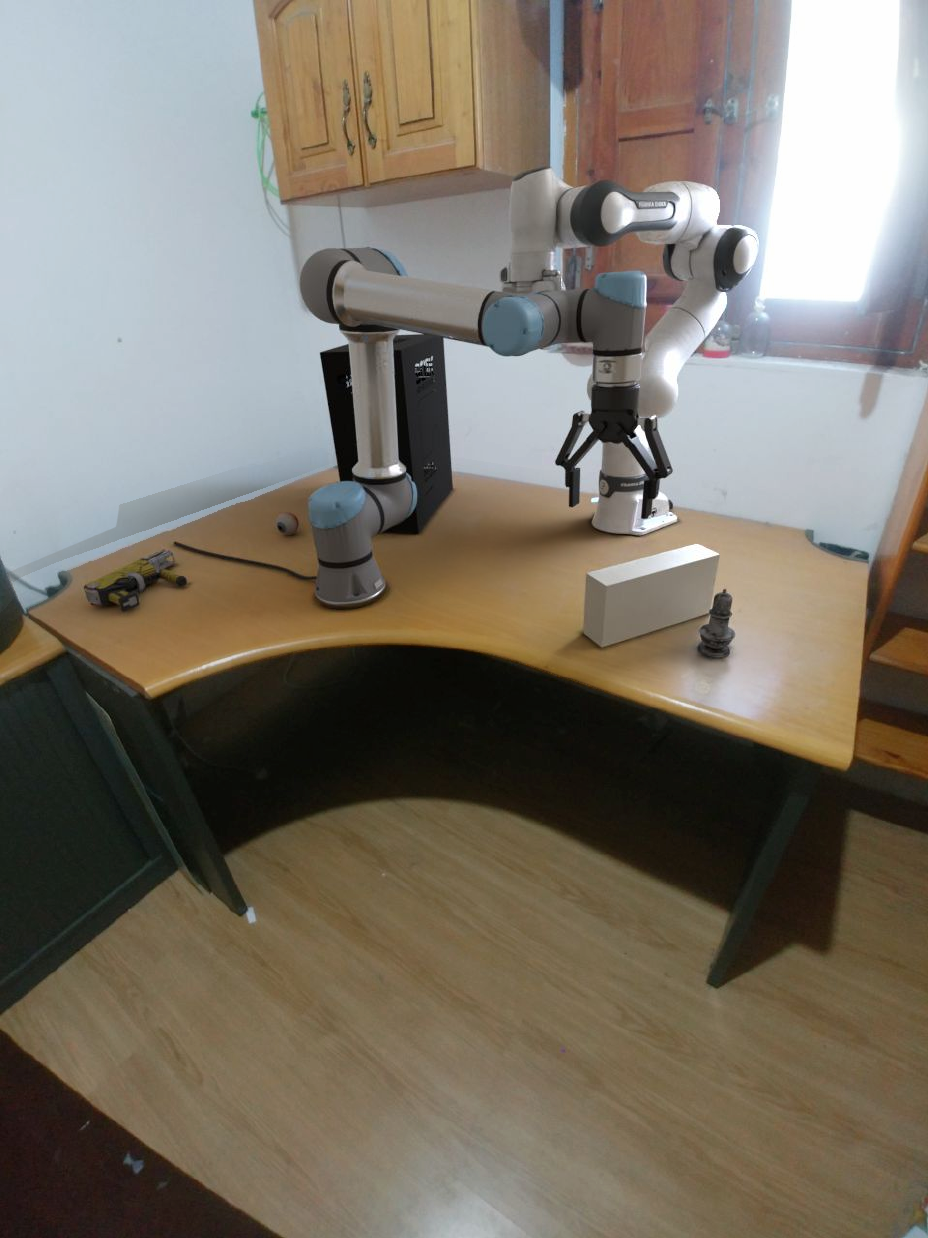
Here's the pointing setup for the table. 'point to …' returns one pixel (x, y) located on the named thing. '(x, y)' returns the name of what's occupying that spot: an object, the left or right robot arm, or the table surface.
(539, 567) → the table surface
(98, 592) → the toy gun
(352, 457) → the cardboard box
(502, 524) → the table surface
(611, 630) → the box
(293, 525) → the eyeball
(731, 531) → the table surface
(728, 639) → the dark grey chess piece
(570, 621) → the table surface
